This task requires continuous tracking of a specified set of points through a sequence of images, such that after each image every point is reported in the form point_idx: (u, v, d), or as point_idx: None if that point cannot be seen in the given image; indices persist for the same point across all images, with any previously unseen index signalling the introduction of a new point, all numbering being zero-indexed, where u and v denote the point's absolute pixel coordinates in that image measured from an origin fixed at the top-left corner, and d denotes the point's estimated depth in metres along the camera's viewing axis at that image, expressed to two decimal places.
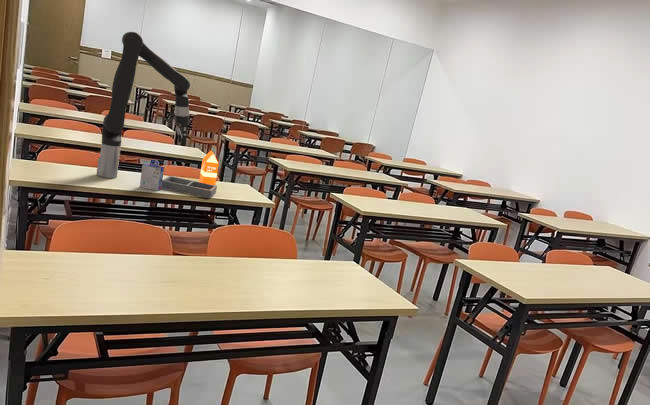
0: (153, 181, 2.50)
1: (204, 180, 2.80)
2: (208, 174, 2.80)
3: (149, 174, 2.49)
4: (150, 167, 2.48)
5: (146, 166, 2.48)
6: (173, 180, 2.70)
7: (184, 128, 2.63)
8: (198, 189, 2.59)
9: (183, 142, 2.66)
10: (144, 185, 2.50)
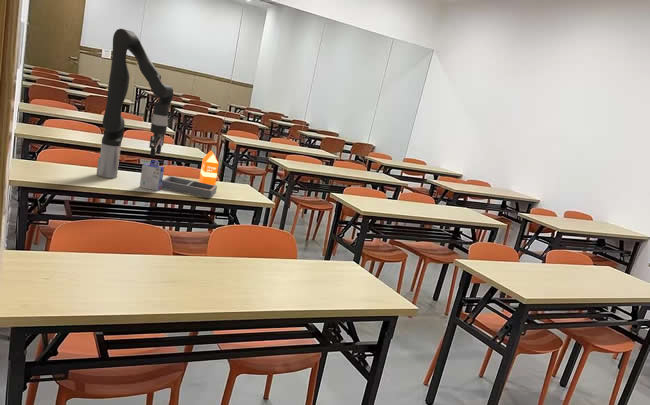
0: (153, 181, 2.50)
1: (204, 180, 2.80)
2: (208, 174, 2.80)
3: (149, 174, 2.49)
4: (150, 167, 2.48)
5: (146, 166, 2.48)
6: (173, 180, 2.70)
7: (152, 137, 2.40)
8: (198, 189, 2.59)
9: (151, 152, 2.44)
10: (144, 185, 2.50)
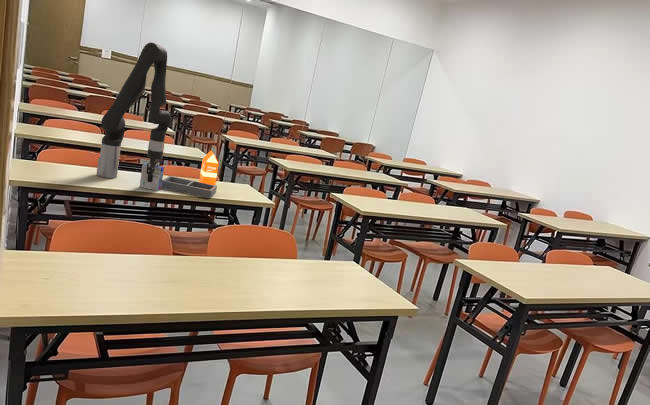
0: (153, 181, 2.50)
1: (204, 180, 2.80)
2: (208, 174, 2.80)
3: None
4: None
5: (146, 166, 2.48)
6: (173, 180, 2.70)
7: (149, 165, 2.44)
8: (198, 189, 2.59)
9: (148, 178, 2.48)
10: (144, 185, 2.50)
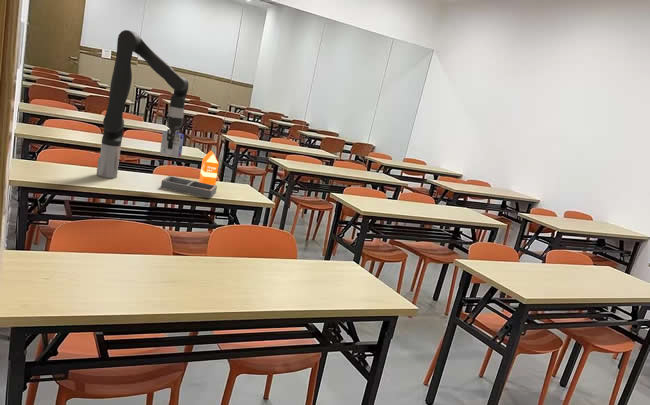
0: (173, 148, 2.52)
1: (204, 180, 2.80)
2: (208, 174, 2.80)
3: None
4: None
5: (166, 133, 2.50)
6: (173, 180, 2.70)
7: (169, 131, 2.46)
8: (198, 189, 2.59)
9: (169, 145, 2.50)
10: (164, 152, 2.53)
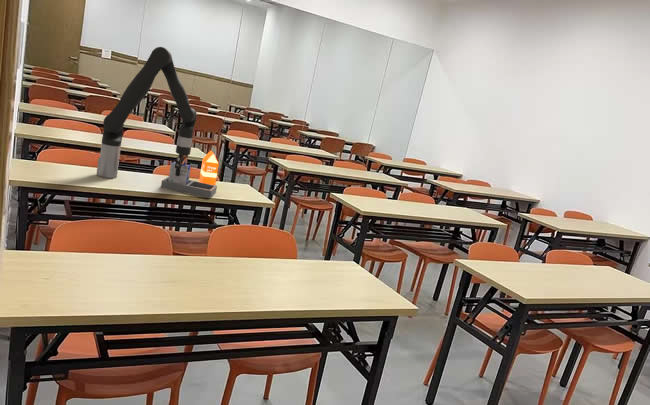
0: (180, 179, 2.62)
1: (204, 180, 2.80)
2: (208, 174, 2.80)
3: None
4: (178, 165, 2.61)
5: (174, 165, 2.60)
6: None
7: (178, 158, 2.55)
8: (198, 189, 2.59)
9: (176, 172, 2.58)
10: None
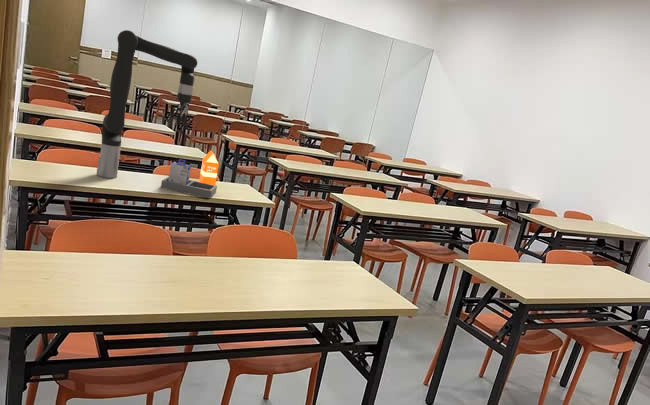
0: (180, 179, 2.62)
1: (204, 180, 2.80)
2: (208, 174, 2.80)
3: (177, 172, 2.61)
4: (178, 165, 2.61)
5: (174, 165, 2.60)
6: None
7: (179, 105, 2.56)
8: (198, 189, 2.59)
9: (177, 120, 2.60)
10: None
